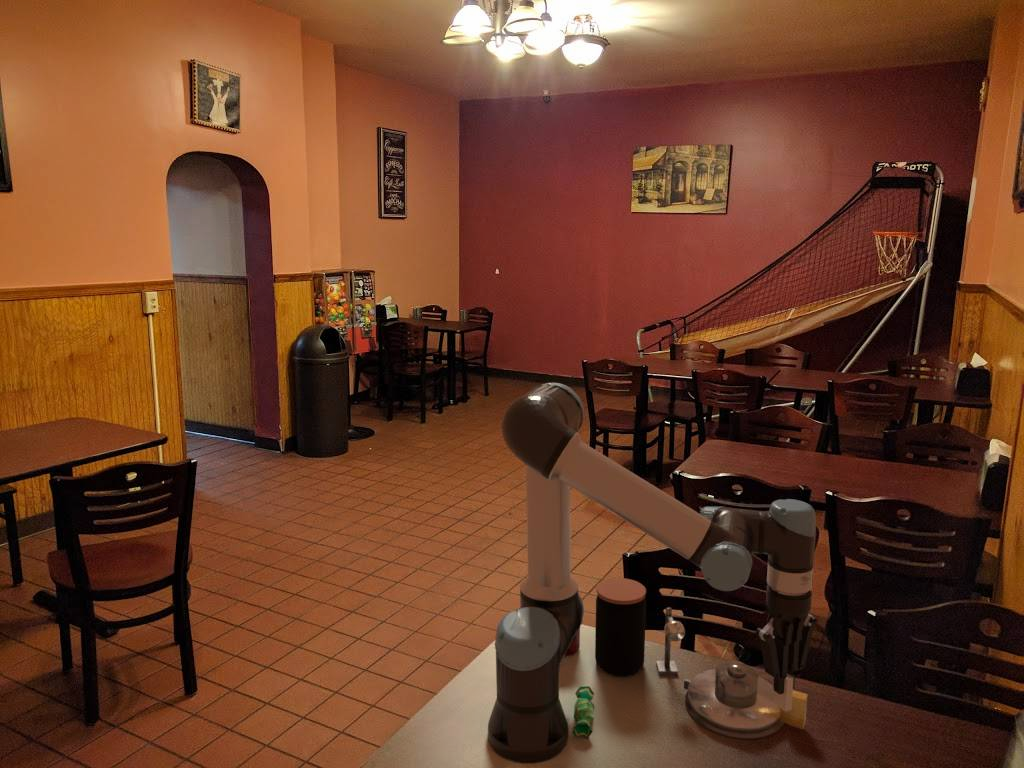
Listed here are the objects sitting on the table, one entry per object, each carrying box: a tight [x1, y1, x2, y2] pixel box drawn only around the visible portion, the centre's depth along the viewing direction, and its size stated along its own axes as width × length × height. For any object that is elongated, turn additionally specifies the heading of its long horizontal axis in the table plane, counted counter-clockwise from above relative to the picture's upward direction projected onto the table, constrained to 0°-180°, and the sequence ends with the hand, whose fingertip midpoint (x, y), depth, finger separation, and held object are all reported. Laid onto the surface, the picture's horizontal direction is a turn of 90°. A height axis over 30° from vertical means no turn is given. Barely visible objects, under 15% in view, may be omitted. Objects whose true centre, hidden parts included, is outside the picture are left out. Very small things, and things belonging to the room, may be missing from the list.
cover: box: [715, 660, 759, 709], centre depth 145 cm, size 8×8×7 cm
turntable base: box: [684, 690, 785, 741], centre depth 147 cm, size 19×19×1 cm
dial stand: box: [655, 606, 686, 677], centre depth 156 cm, size 4×9×15 cm, turn 178°
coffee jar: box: [594, 577, 647, 678], centre depth 161 cm, size 11×11×18 cm
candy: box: [571, 685, 595, 739], centre depth 144 cm, size 12×3×4 cm
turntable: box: [683, 668, 809, 733], centre depth 146 cm, size 21×18×6 cm
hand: (782, 706), depth 135 cm, fingers closed
